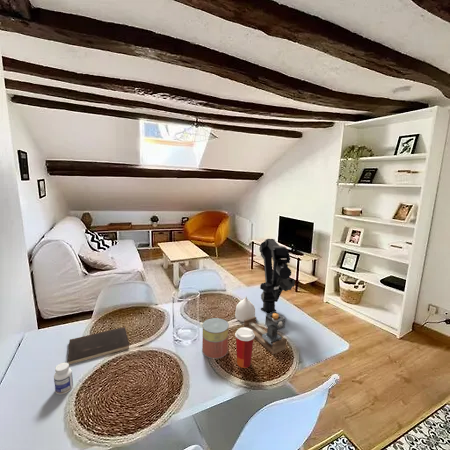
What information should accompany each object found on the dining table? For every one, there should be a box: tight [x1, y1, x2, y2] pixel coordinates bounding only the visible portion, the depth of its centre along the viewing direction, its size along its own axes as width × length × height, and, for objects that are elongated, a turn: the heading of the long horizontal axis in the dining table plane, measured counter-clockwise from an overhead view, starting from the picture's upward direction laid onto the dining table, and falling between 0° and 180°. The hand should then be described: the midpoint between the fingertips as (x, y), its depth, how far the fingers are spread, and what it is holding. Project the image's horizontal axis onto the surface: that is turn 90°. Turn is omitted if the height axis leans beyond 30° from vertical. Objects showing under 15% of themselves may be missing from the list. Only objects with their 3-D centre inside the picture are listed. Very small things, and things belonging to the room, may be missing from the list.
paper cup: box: [234, 326, 255, 369], centre depth 103 cm, size 8×8×14 cm
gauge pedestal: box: [264, 311, 286, 331], centre depth 131 cm, size 7×7×5 cm
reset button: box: [272, 312, 280, 320], centre depth 130 cm, size 3×3×4 cm
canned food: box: [201, 317, 230, 360], centre depth 110 cm, size 11×11×12 cm
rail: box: [243, 316, 287, 355], centre depth 120 cm, size 22×7×5 cm, turn 32°
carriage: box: [262, 324, 283, 346], centre depth 115 cm, size 6×6×7 cm
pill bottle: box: [53, 362, 74, 395], centre depth 88 cm, size 5×5×9 cm
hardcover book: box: [66, 326, 130, 365], centre depth 112 cm, size 16×23×2 cm
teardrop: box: [234, 296, 256, 323], centre depth 138 cm, size 11×11×12 cm
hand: (276, 300), depth 131 cm, fingers closed
